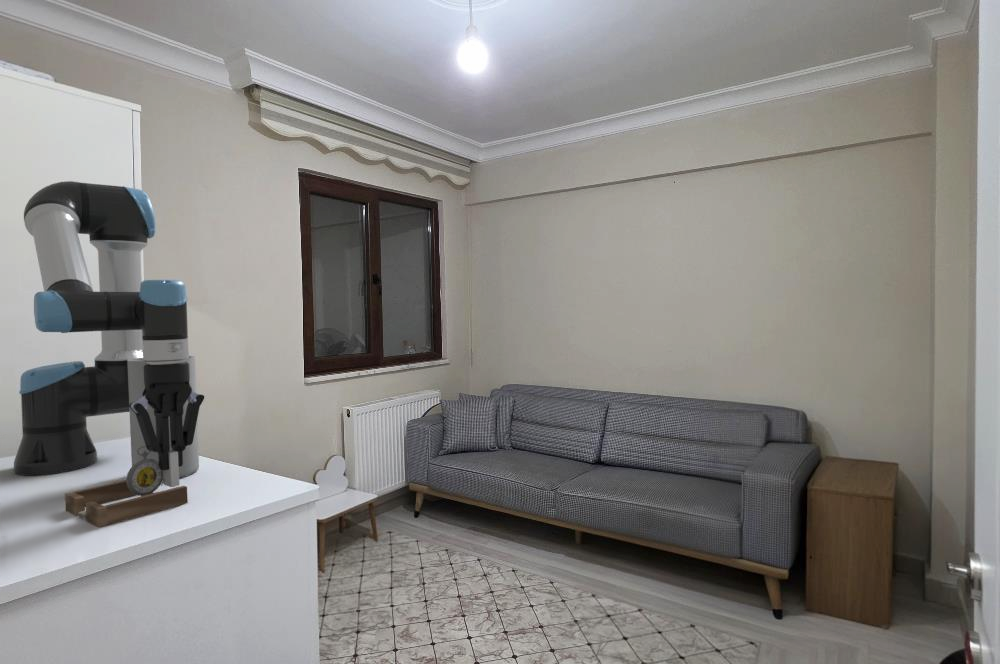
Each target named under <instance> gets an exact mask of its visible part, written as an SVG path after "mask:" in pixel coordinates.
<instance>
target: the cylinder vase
mask: <svg viewBox="0 0 1000 664" xmlns="http://www.w3.org/2000/svg"><path fill="white" fill-rule="evenodd" d="M185 362H188V363H189V372H190V380H189V384H190V386H191V388H192V391H193V392H195V393H197V375H196V372H197V371H196V356H194V355H189V358H188V359H186V360H185ZM127 363H128V387H129V405H130V403H132V402H134V403H135V402H136V401H138V400H139V399H140V398H142V397H143V396H142V394H143V391H144V389H145V384H144V367H143V366H145V364H147V362H146V361H144V360H143V358H134V359H129V360H127ZM188 403H189V402H188V399H187V401H186V402H185V404H184V406H183V415H182V422H183V424H184V419H185V414H186V409H187V405H188ZM147 406H148V408H147V412H148V413H149V416H150V419H151V422H152V425H153V429H154V432H155V435H156V418H155V415H154V409H153V408H152V407H151V406H150V405H149V404H148V403H147ZM129 411H130V412H129V426H130V428H129V431H130V452H131V453H130V454H131V457H130V458H131V467H132V466H133V465H134V464H135V463H137V462H138V461H141V460H143V456H141V455H139V454H138V453H137V450H138V449H139V448H140V447H142V446H146V445H145V441H144V438H143V435H142V432H141V429H140V426H139V423H138V420H137V417H136V414H135V413H134V412H133V411H132V410H131V409H130V407H129ZM168 420H169V443H170V450H172V448H171V437H170V415H169V417H168ZM198 427H199V426H198V422H197V423H196V428H195V433H194V438H193V443H192V444H191V445H188V446H186V448H185V450H184V451H182V453H183V465H182V466H181V467H179V479H181V478H184V477H187V476H189V475H192V474H194V473H195V472H197V471H198V470H199V467H200V464H199V463H200V457H199V454H200V453H199V452H200V451H199V432H198V430H199V429H198ZM143 451H146V452H147V453H148V452H149V450H147V448H146V447H143V448H141V449H139V453H140V454H142V453H144V452H143ZM146 458H147V459H154V460H156V461H158V462H159V455H158V452H153V451H151V452H150V453H149V454H148V455H147V456H146ZM150 472H151V473H152V472H153V470H152V471H150ZM152 474H153V473H152ZM152 474H151V475H152ZM162 482H164V477H163V480H162Z"/></svg>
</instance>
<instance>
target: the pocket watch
mask: <svg viewBox="0 0 1000 664" xmlns="http://www.w3.org/2000/svg"><path fill="white" fill-rule="evenodd" d="M143 447H146V446H142V447H140V448H139V449H141V448H143ZM139 449H138V450H137V453H138V454H139V455H141V456H143V460H141V461H138V462H137V463H135V464H134V465H133V466H132V465H131V467H130V468H129V470H128V472H127V475H126V479H125V480H126V483H127V487H128V489H129V490H130V491H131V492H132V493H134V494H136V495H135V496H140V497H141V496H145V495H149V494H153V493H157V492H158V491H157V492H156V490H158V489H159V487H160V486H161V485H162V482H163V481H162V480H163V477H164V470H161V469H160V468H159V462H158V461H156V460H154V459H147V458H146V456H147V455H148V454H149V453H150V452H151V451H149V452H148V453H147V452H146V451H143V452H144V453H142V454H140V453H139ZM152 470H153V472H152V473H153V474H152V473H151V472H150V471H152ZM151 474H152V475H151ZM147 475H148V476H147ZM152 476H153V479H150V478H151V477H152ZM144 479H145V480H144ZM142 480H144V481H142ZM138 481H139V482H138ZM142 482H143V483H145V486H144V487H142V486H141V484H142ZM139 484H140V486H141V487H140V486H139ZM146 484H148V485H146Z"/></svg>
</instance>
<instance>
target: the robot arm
mask: <svg viewBox="0 0 1000 664" xmlns="http://www.w3.org/2000/svg"><path fill="white" fill-rule="evenodd" d="M24 207H25V208H24V211H23V222H24V225H25V229H26V230H27V232H28V233H29V234H30V235H31V236H32V237H33V240H34V242H33V243H34V245H35V252H36V256H37V263H38V266H39V273H40V277H41V282H42V287H43V291H38V292H36V293H35V294H34V297H33V316H34V323H35V328H36V329H37V330H38V331H39V332H41V333H42V332H43V333H61V334H68V333H85V332H100V333H101V338H100V339H101V351H100V353H98V355H96V356H95V357H94V366H86V365H85V364H84V362H83V361H81V360H79V361H78V360H77V361H75V360H74V361H69V362H68V361H67V362H60V363H59V362H58V363H54V364H47V365H43V366H42V365H41V366H38V367H34V368H30V369H27V370H26V371H24V372H23V373H21V375H20V379H19V380H20V382H19V384H20V387H19V388H20V389H19V394H20V401H21V427H22V431H21V432H22V438H21V440H20V442H19V446H18V449H17V452H16V455H15V457H14V461H13V473H14V472H15V474H16V473H17V474H16V475H20V474H24V475H23V476H39V475H49V474H57V473H63V472H65V473H66V472H70V471H73V470H79V469H82V468H86V467H89V466H92V465H94V464H95V463H97V462H98V451H97V449H96V446H95V445H94V442H93V439H92V438H91V436H90V434H89V431H88V428H87V426H88V425H87V418H89V417H97V416H106V415H114V414H120V413H121V414H123V413H130V411H129V407H130V409H131V410H132V411H133V412H134V413H135V414H136V417H137V420H138V423H139V426H140V429H141V432H142V435H143V438H144V441H145V445H146V448H147V450H149V451H153V452H158V455H159V468H160V469H161V470H164V481H163V482H164V486H166V487H170V488H176V487H180V478H179V467H181V466H182V465H183V453H182V451H184V450H185V448H186V446H188V445H191V444H192V443H193V438H194V433H195V428H196V423H197V424H198V417H199V412H200V407H201V406H202V404H203V402H204V401H205V400H204V399H205V395H204V394H199V393H197V392H196V393H195V392H193V391H192V388H191V386H190V384H189V380H190V372H189V363H188V362H185V360H186V359H188V358H189V356H190V355H189V336H188V334H189V333H188V332H189V330H188V307H187V305H188V296H187V290H186V284H185V283H184V281H182V280H178V279H145V280H142V257H141V253H142V250H144V248H146V247H147V246H148V239H152V238H154V237H155V233H156V217H155V212H154V207H153V205H152V201H151V199H150V196H148V194H147V193H146V192H145V191H143V190H142V189H139V188H133V187H127V186H125V185H124V186H119V185H109V184H100V183H97V184H96V183H88V182H80V181H79V182H78V181H73V180H72V181H71V180H70V181H69V180H67V181H59V182H55V183H52V184H49V185H46V186H44V187H43V188H40V189H39V190H37V192H36V193H34V194H33V195H32V196H31V197H30V198H29V199H28V201H27V203H26V205H25V206H24ZM79 234H81V235H89V243H90V244H91V245H92V246H93V247H94V248H96V250H97V255H98V256H97V257H98V258H97V259H98V260H97V262H98V282H99V284H98V285H99V291H94V290H93V286H92V285H93V284H92V281H91V278H90V274H89V271H88V266H87V263H86V259H85V256H84V252H83V249H82V244H81V242H80V237H79ZM134 358H143V360H144V361H146V362H147V364H145V366H143V367H144V384H145V389H144V391H143V394H142V396H143V397H142V398H140V399H139V400H138V401H136V402H135V403H134V402H132V403H130V405H129V387H128V363H127V360H129V359H134ZM187 399H188V402H189V403H188V405H187V409H186V414H185V419H184V424H183V422H182V415H183V406H184V404H185V402H186V401H187ZM147 403H148V404H149V405H150V406H151V407H152V408H153V409H154V415H155V418H156V435H155V432H154V429H153V425H152V422H151V419H150V416H149V413H148V412H147V408H148V406H147ZM169 415H170V437H171V448H172V450H170V443H169V420H168V417H169Z"/></svg>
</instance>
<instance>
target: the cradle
mask: <svg viewBox="0 0 1000 664" xmlns="http://www.w3.org/2000/svg"><path fill="white" fill-rule="evenodd" d="M147 476H148V475H147ZM150 479H153V476H152V477H151V478H150ZM144 480H145V479H144ZM144 480H142V481H144ZM138 482H139V481H138ZM146 485H148V484H146ZM139 486H140V484H139ZM141 486H142V487H144V486H145V483H143V482H142V484H141ZM141 486H140V487H141ZM133 496H137V495H136V494H134V493H132V492H131V491H130V490H129V489H128V487H127V483H126V479H125V480H120V481H115V482H110V483H107V484H102V485H97V486H94V487H89V488H84V489H81V490H80V489H79V490H75V491H71V492H68V493H67V492H66V493H64V503H65V504H64V505H65V506H64V507H65V512H68V513H70V514H71V515H73V516H75V517H78V518H80V519H82V520H84V521H86V522H88V523H90V524H92V525H94V526H96V527H97V528H102V527H106V526H110V525H113V524H117V523H119V522H124V521H127V520H131V519H135V518H138V517H143V516H146V515H149V514H152V513H157V512H160V511H164V510H167V509H171V508H175V507H178V506H182V505H185V504H188V502H189V501H188V486H186V485H181V486H180V485H179V486H175V487H171V488H169V489H164V490H161V491H157V493H155V492H153V494H149V495H145V496H141V495H140V496H137V497H134V498H130V499H125V498H129V497H133ZM121 499H125V500H122V501H118V502H114V503H110V504H106V505H103V504H105V503H109V502H113V501H117V500H121Z"/></svg>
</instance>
